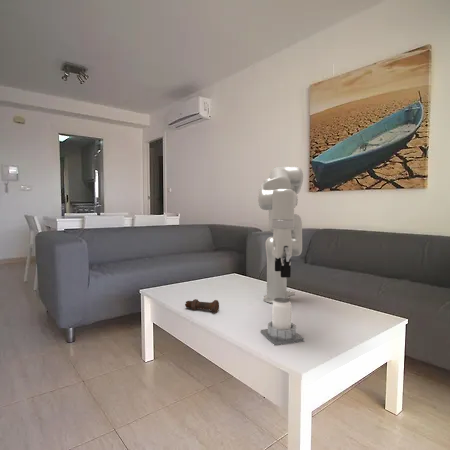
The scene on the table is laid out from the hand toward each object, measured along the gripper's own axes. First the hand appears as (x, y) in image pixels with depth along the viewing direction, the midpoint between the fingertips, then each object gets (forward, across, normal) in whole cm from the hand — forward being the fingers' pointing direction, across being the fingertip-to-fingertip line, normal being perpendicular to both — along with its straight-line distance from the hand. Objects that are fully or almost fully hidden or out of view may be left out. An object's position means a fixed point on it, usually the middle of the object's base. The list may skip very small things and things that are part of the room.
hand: (282, 274), depth 105 cm
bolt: (+23, -29, -29) cm, 47 cm away
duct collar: (+22, 0, 0) cm, 22 cm away
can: (+21, 0, 0) cm, 21 cm away
